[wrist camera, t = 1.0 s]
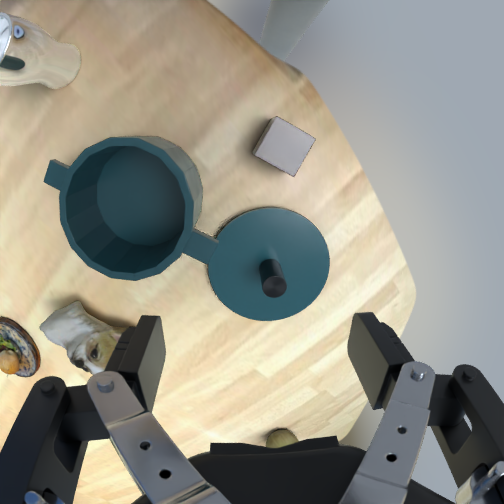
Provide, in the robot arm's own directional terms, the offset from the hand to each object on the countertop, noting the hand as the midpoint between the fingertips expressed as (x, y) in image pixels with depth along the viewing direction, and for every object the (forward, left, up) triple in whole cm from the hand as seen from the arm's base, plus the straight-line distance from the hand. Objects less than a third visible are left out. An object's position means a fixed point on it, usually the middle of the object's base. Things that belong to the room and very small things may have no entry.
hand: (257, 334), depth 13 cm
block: (-8, 0, -25) cm, 26 cm away
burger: (+39, -25, -26) cm, 53 cm away
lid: (+5, +6, -25) cm, 26 cm away
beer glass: (-6, -29, -25) cm, 39 cm away
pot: (+4, -11, -25) cm, 28 cm away
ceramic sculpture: (+25, -10, -25) cm, 37 cm away
